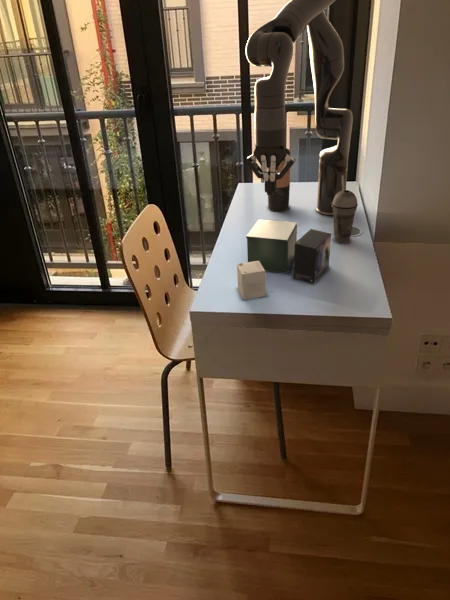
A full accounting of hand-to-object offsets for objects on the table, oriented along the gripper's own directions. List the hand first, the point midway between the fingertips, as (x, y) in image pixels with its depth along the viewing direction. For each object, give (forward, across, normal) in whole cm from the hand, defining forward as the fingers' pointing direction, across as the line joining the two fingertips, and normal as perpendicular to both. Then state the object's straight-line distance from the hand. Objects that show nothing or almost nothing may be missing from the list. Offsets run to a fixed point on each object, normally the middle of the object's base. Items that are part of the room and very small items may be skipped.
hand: (270, 193), depth 131 cm
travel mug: (+21, +8, -42) cm, 48 cm away
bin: (+21, 0, -2) cm, 21 cm away
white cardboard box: (+21, +1, +16) cm, 26 cm away
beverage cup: (+21, -17, -20) cm, 34 cm away
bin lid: (+11, 0, -2) cm, 11 cm away
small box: (+21, -12, +2) cm, 24 cm away
